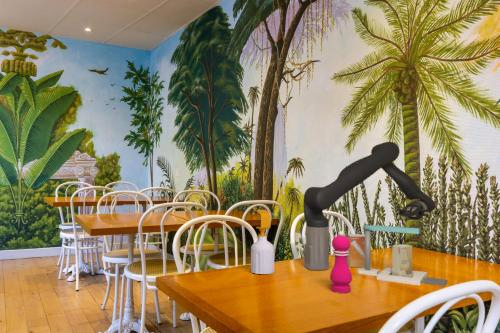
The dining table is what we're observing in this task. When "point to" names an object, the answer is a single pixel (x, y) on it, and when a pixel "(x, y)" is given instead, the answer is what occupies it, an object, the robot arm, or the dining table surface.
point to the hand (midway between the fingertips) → (407, 214)
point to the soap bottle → (262, 248)
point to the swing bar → (391, 229)
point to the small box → (356, 250)
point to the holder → (387, 273)
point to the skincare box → (402, 260)
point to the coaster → (435, 281)
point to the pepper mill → (341, 265)
